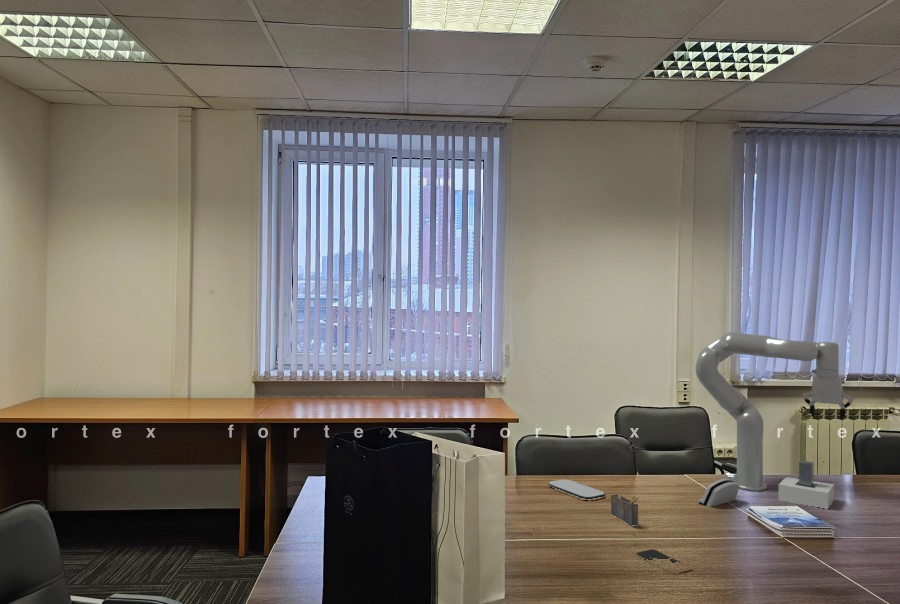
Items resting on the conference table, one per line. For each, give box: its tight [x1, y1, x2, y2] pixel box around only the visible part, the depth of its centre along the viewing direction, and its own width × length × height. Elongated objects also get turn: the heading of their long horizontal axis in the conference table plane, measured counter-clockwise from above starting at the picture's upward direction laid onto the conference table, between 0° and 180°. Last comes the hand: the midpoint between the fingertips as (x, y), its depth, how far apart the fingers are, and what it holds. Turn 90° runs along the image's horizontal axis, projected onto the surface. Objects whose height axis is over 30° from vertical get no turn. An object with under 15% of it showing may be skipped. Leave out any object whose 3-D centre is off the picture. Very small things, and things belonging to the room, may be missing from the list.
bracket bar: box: [798, 460, 814, 488], centre depth 229 cm, size 4×4×14 cm
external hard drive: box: [548, 478, 606, 499], centre depth 238 cm, size 24×12×2 cm, turn 31°
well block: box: [778, 476, 835, 510], centre depth 229 cm, size 16×14×6 cm
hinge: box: [697, 478, 740, 508], centre depth 226 cm, size 17×5×10 cm, turn 123°
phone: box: [636, 549, 684, 564], centre depth 172 cm, size 7×1×15 cm
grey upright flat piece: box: [610, 493, 639, 527], centre depth 205 cm, size 11×3×10 cm, turn 20°
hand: (827, 417), depth 236 cm, fingers open, 9 cm apart
